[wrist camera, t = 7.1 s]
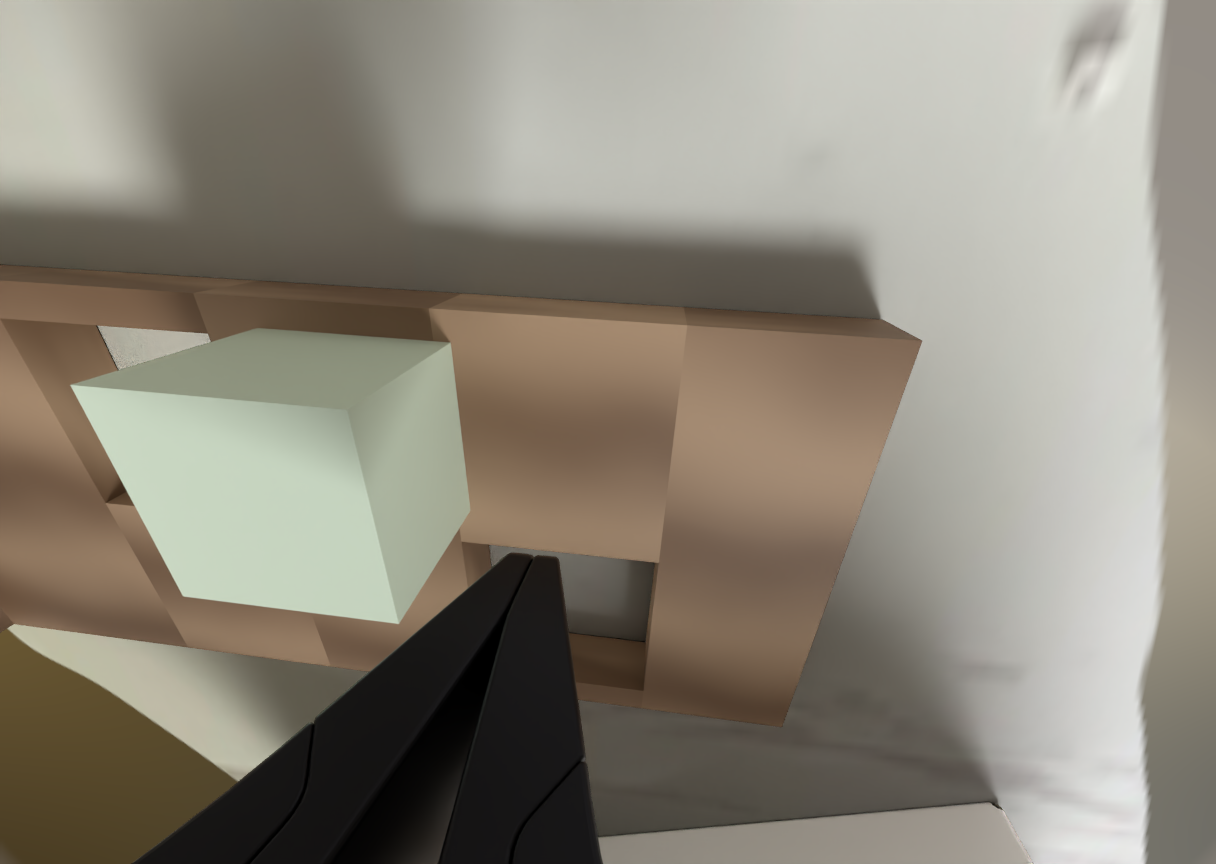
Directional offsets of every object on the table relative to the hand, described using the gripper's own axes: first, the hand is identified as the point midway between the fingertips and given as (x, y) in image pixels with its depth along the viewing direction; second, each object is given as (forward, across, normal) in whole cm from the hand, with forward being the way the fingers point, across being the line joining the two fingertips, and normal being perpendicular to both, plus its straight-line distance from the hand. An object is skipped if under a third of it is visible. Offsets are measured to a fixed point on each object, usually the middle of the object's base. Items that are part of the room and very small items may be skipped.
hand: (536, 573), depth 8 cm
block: (+5, +6, 0) cm, 7 cm away
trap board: (+7, +9, +4) cm, 12 cm away
